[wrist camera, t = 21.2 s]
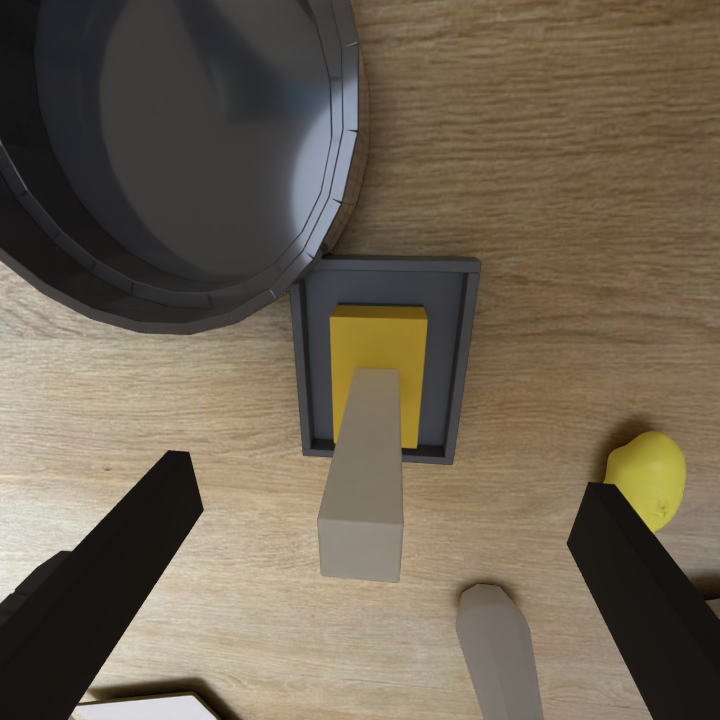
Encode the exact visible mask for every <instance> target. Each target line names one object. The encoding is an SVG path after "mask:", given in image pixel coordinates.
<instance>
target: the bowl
mask: <svg viewBox="0 0 720 720" xmlns="http://www.w3.org/2000/svg"><path fill="white" fill-rule="evenodd" d="M368 152H369V88H368V83H367V78H366V73H365V68H364V63H363V59H362V54H361V49H360V44H359V39H358V35H357V30H356V25H355V20H354V16H353V11H352V6H351V1H350V0H0V261H1V262H3V263H4V264H5V265H6V266H8V267H9V268H10V269H12V270H13V271H14V272H15V273H17V274H18V275H19V276H20V277H22V278H23V279H24V280H26V281H27V282H28V283H29V284H31V285H32V286H33V287H34V288H36V289H37V290H38V291H40V292H42V294H44V295H46V296H48V297H50V298H52V299H53V300H55V301H57V302H59V303H61V304H63V305H65V306H67V307H69V308H71V309H73V310H74V311H76V312H78V313H80V314H82V315H84V316H86V317H88V318H90V319H92V320H96V321H99V322H103V323H106V324H110V325H113V326H117V327H120V328H124V329H127V330H131V331H135V332H138V333H144V334H173V335H193V334H197V333H201V332H205V331H209V330H213V329H217V328H221V327H225V326H229V325H234V324H236V323H239V322H240V321H242V320H244V319H245V318H247V317H249V316H250V315H252V314H254V313H255V312H257V311H259V310H261V309H262V308H264V307H266V306H267V305H269V304H271V303H272V302H274V301H276V300H277V299H279V298H280V297H281V296H283V295H284V294H285V293H286V292H288V291H289V290H290V289H292V288H293V287H294V286H295V285H297V284H298V283H299V282H301V281H302V280H303V279H305V278H306V277H307V276H308V275H309V274H310V273H311V272H312V271H313V270H312V269H313V268H314V267H315V266H316V265H317V264H318V263H319V262H320V261H321V260H322V259H323V258H324V257H325V256H326V255H327V254H328V253H329V252H330V251H331V250H332V249H333V248H334V246H335V245H336V243H337V241H338V239H339V237H340V235H341V233H342V231H343V230H344V228H345V226H346V224H347V222H348V220H349V218H350V216H351V214H352V212H353V210H354V208H355V207H356V204H357V200H358V196H359V192H360V188H361V184H362V180H363V175H364V171H365V167H366V163H367V159H368V155H369V154H368Z"/></svg>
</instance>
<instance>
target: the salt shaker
mask: <svg viewBox="0 0 720 720" xmlns="http://www.w3.org/2000/svg"><path fill="white" fill-rule="evenodd" d="M456 632H457V636H458V639H459V642H460V645H461V648H462V651H463V654H464V658H465V661H466V664H467V667H468V670H469V673H470V676H471V680H472V683H473V686H474V689H475V692H476V695H477V698H478V702H479V705H480V708H481V711H482V714H483V717H484V720H544V716H543V710H542V704H541V697H540V691H539V684H538V678H537V672H536V665H535V659H534V653H533V646H532V640H531V634H530V628H529V626H528V624H527V622H526V619H525V617H524V615H523V613H522V611H521V610H520V609H519V608H518V607H517V606H516V605H515V603H514V602H513V601H512V600H511V599H510V598H509V597H508V595H507V594H506V593H505V592H504V591H503V590H502V588H501V587H500V586H496V585H487V584H476V585H474V586H473V587H471V588H469V589H467V590H466V591H464V592H462V596H461V600H460V605H459V610H458V614H457V619H456Z"/></svg>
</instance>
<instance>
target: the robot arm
mask: <svg viewBox="0 0 720 720" xmlns="http://www.w3.org/2000/svg"><path fill="white" fill-rule="evenodd" d="M203 510H204V509H203V505H202V501H201V497H200V493H199V489H198V485H197V481H196V477H195V473H194V469H193V465H192V461H191V457H190V453H189V452H185V451H171V450H168V451H167V452H166V453H165V454H164V456H163V457H162V458H161V459H160V460H159V461H158V462H157V463H156V464H155V465H154V466H153V467H152V468H151V469H150V470H149V471H148V472H147V473H146V474H145V475H144V476H143V478H142V479H141V480H140V481H139V482H138V483H137V484H136V485H135V486H134V487H133V488H132V489H131V490H130V491H129V492H128V493H127V494H126V495H125V496H124V497H123V498H122V500H121V501H120V502H119V503H118V504H117V505H116V506H115V507H114V508H113V509H112V510H111V511H110V512H109V513H108V514H107V515H106V516H105V517H104V518H103V519H102V520H101V522H100V523H99V524H98V525H97V526H96V527H95V528H94V529H93V530H92V531H91V532H90V533H89V534H88V535H87V536H86V537H85V538H84V539H83V540H82V541H81V542H80V544H79V545H78V546H77V547H76V548H75V549H74V550H73V551H72V552H71V551H60V552H59V553H57V554H56V555H54V556H53V557H51V558H50V559H49V560H47V561H46V562H44V563H43V564H41V565H40V566H38V567H37V568H36V569H35V570H34V571H33V572H32V573H31V574H30V575H29V576H28V577H27V578H26V579H25V580H24V581H23V582H22V583H21V584H20V585H19V586H18V587H17V588H16V589H15V592H14V593H13V594H10V595H9V596H8V597H7V598H6V599H4V600H3V601H2V602H1V603H0V720H68V718H69V716H70V715H71V714H72V712H73V710H74V709H75V707H76V706H77V704H78V703H79V701H80V700H81V698H82V697H83V695H84V694H85V692H86V690H87V689H88V687H89V686H90V684H91V683H92V681H93V680H94V678H95V677H96V675H97V674H98V672H99V670H100V669H101V667H102V666H103V664H104V663H105V661H106V660H107V658H108V657H109V655H110V654H111V652H112V650H113V649H114V647H115V646H116V644H117V643H118V641H119V640H120V638H121V637H122V635H123V634H124V632H125V630H126V629H127V627H128V626H129V624H130V623H131V621H132V620H133V618H134V617H135V615H136V614H137V612H138V610H139V609H140V607H141V606H142V604H143V603H144V601H145V600H146V598H147V597H148V595H149V594H150V592H151V590H152V589H153V587H154V586H155V584H156V583H157V581H158V580H159V578H160V577H161V575H162V574H163V572H164V570H165V569H166V567H167V566H168V564H169V563H170V561H171V560H172V558H173V557H174V555H175V554H176V552H177V550H178V549H179V547H180V546H181V544H182V543H183V541H184V540H185V538H186V537H187V535H188V534H189V532H190V530H191V529H192V527H193V526H194V524H195V523H196V521H197V520H198V518H199V517H200V515H201V514H202V512H203ZM567 546H568V548H569V550H570V552H571V554H572V556H573V558H574V560H575V562H576V564H577V566H578V568H579V570H580V572H581V574H582V576H583V578H584V580H585V582H586V584H587V586H588V588H589V590H590V592H591V594H592V596H593V598H594V600H595V602H596V604H597V606H598V608H599V610H600V613H601V615H602V617H603V619H604V621H605V623H606V625H607V627H608V629H609V631H610V633H611V635H612V637H613V639H614V641H615V643H616V645H617V647H618V649H619V651H620V653H621V655H622V657H623V659H624V661H625V663H626V665H627V667H628V669H629V671H630V673H631V675H632V677H633V679H634V681H635V684H636V686H637V688H638V690H639V692H640V694H641V696H642V698H643V700H644V702H645V704H646V706H647V708H648V710H649V712H650V714H651V716H652V718H653V720H720V619H719V618H718V617H717V616H716V614H715V613H714V612H713V610H712V609H711V608H710V606H709V605H708V604H707V603H706V601H705V600H704V599H703V597H702V596H701V595H700V594H699V592H698V591H697V590H696V588H695V587H694V586H693V584H692V583H691V582H690V581H689V579H688V578H687V577H686V575H685V574H684V573H683V572H682V570H681V569H680V568H679V566H678V565H677V564H676V562H675V561H674V560H673V559H672V557H671V556H670V555H669V553H668V552H667V551H666V550H665V548H664V547H663V546H662V544H661V543H660V542H659V541H658V539H657V538H656V537H655V535H654V534H653V533H652V531H651V530H650V529H649V528H648V526H647V525H646V524H645V522H644V521H643V520H642V519H641V517H640V516H639V515H638V513H637V512H636V511H635V509H634V508H633V507H632V506H631V504H630V503H629V502H628V500H627V499H626V498H625V497H624V495H623V494H622V493H621V491H620V490H619V489H618V487H617V486H616V485H615V484H606V483H593V482H588V485H587V488H586V491H585V494H584V496H583V499H582V502H581V505H580V508H579V510H578V513H577V516H576V519H575V522H574V524H573V527H572V530H571V533H570V536H569V538H568V541H567Z"/></svg>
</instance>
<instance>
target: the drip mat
mask: <svg viewBox="0 0 720 720" xmlns="http://www.w3.org/2000/svg"><path fill="white" fill-rule="evenodd" d="M480 269H481V261H480V260H478V259H476V258H475V257H432V256H360V255H326V256H325V257H324V258H323V259H322V260H321V261H320V262H319V263H318V264H317V265H316V266H315V267H314V268H313V269H312V270H313V271H312V272H311V273H310V274H309V275H308V276H307V277H306V278H305V279H303V280H302V281H301V282H299V283H298V284H297V285H295V286H294V287H293V288H292V289H290V303H291V315H292V327H293V339H294V352H295V364H296V376H297V389H298V401H299V413H300V426H301V438H302V448H303V449H302V451H303V456H317V457H332V458H333V454H334V450H335V446H336V444H335V443H334V430H333V401H332V373H331V344H330V316H331V314H332V312H333V311H334V309H335V307H336V306H337V304H338V303H339V302H345V303H384V304H423V306H424V309H425V313H426V316H427V319H428V325H427V336H426V348H425V360H424V371H423V383H422V395H421V406H420V418H419V430H418V441H417V448H401V451H402V462H411V463H427V464H443V465H453V460H454V453H455V446H456V439H457V432H458V425H459V418H460V411H461V404H462V396H463V389H464V382H465V375H466V368H467V361H468V354H469V347H470V340H471V333H472V326H473V319H474V311H475V304H476V297H477V290H478V283H479V276H480Z"/></svg>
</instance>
